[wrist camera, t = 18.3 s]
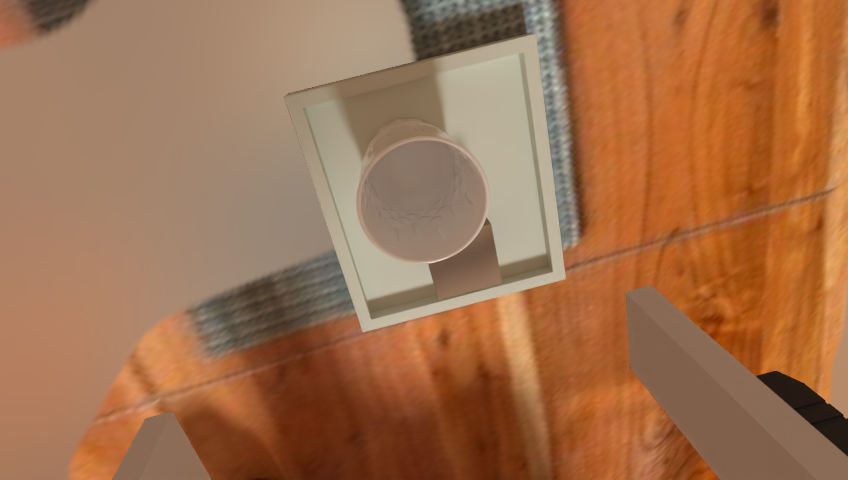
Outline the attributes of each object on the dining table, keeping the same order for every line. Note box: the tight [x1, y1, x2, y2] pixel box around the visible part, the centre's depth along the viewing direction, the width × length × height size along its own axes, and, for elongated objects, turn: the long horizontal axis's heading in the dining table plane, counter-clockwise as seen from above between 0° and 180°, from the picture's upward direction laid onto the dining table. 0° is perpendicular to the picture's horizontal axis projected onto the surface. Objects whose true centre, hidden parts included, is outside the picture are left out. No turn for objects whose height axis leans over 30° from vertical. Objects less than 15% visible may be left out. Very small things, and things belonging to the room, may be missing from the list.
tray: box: [284, 34, 566, 332], centre depth 39 cm, size 20×18×2 cm
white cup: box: [356, 119, 490, 264], centre depth 33 cm, size 8×8×10 cm
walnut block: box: [428, 217, 502, 300], centre depth 39 cm, size 5×5×5 cm
